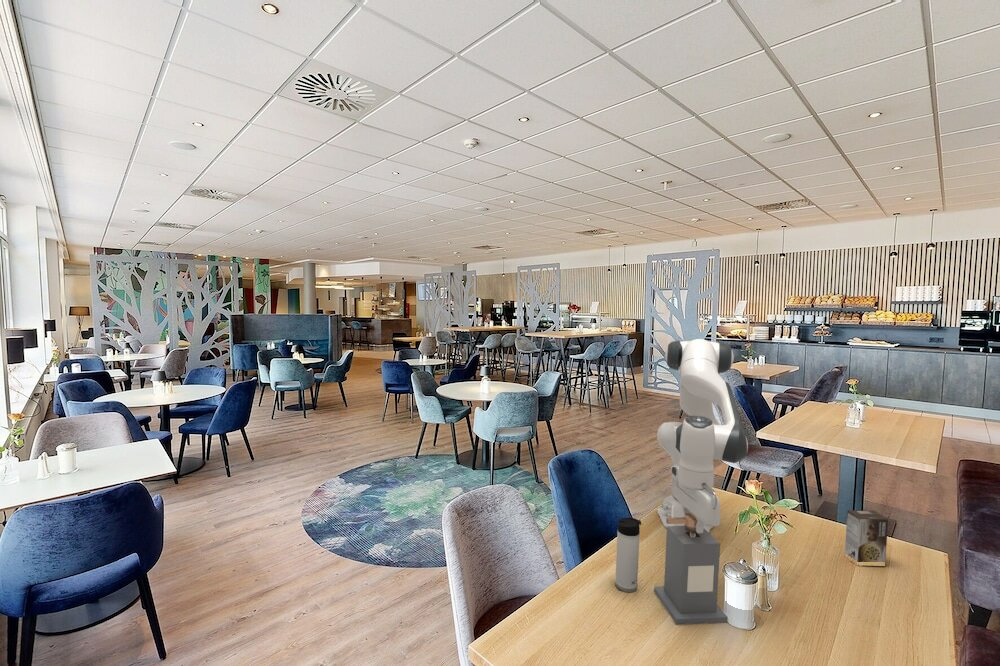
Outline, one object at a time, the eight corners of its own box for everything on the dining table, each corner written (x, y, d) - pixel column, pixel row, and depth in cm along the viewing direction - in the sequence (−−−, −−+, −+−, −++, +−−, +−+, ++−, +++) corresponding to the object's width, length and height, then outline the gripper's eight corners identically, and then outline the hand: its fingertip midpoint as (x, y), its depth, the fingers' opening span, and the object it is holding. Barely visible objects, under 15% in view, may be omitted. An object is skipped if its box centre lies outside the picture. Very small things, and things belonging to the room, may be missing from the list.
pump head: (660, 581, 131) (664, 513, 130) (693, 580, 132) (697, 512, 131) (667, 591, 127) (671, 521, 126) (701, 590, 128) (705, 520, 126)
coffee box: (870, 556, 159) (874, 510, 158) (885, 567, 152) (889, 519, 151) (843, 555, 159) (846, 509, 158) (856, 566, 152) (860, 518, 151)
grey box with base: (653, 591, 136) (657, 522, 135) (700, 590, 138) (703, 521, 136) (676, 624, 123) (680, 548, 121) (727, 622, 124) (731, 547, 122)
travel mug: (639, 594, 135) (642, 526, 134) (615, 590, 136) (618, 523, 135) (637, 581, 141) (640, 516, 140) (614, 578, 143) (617, 514, 141)
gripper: (728, 492, 118) (725, 546, 119) (688, 464, 138) (686, 510, 139) (704, 492, 117) (701, 546, 118) (668, 464, 137) (665, 510, 138)
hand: (693, 526), depth 129 cm, fingers closed on pump head, 4 cm apart
